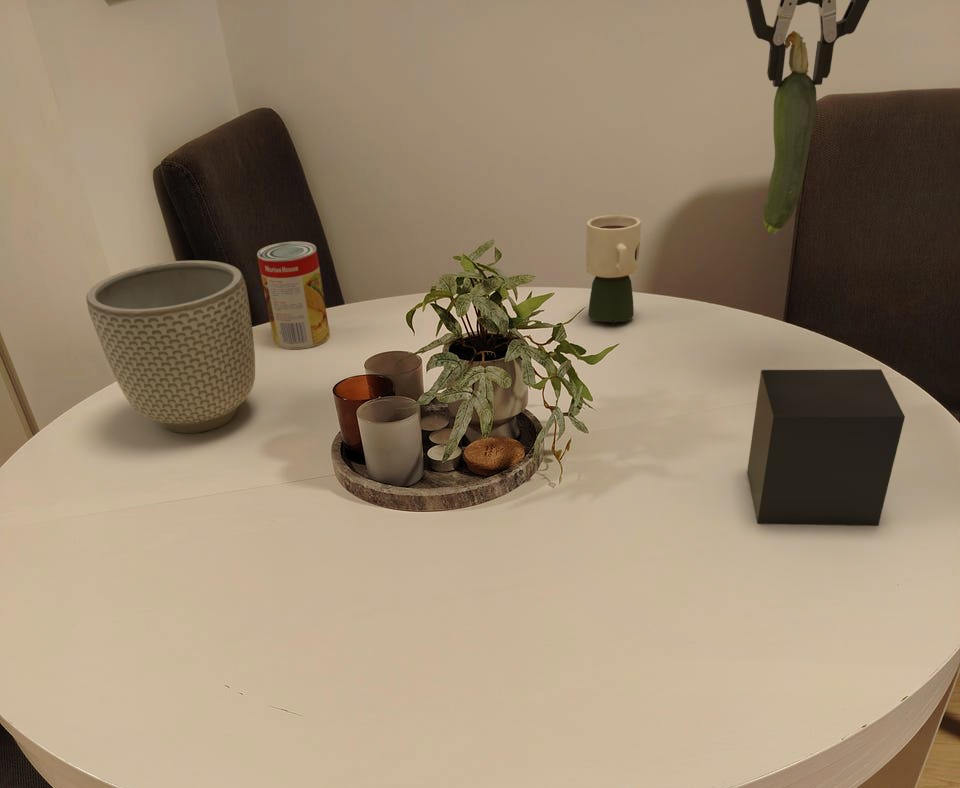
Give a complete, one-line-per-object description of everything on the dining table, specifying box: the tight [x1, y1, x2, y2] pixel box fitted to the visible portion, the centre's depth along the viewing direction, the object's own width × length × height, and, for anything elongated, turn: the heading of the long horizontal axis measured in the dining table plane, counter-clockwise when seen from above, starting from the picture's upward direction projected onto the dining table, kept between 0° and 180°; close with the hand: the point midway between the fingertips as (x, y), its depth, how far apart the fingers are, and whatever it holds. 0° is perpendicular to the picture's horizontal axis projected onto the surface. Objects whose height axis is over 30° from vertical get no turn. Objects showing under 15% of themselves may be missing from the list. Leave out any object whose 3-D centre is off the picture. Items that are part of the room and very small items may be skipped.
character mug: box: [585, 214, 642, 324], centre depth 128 cm, size 11×7×13 cm, turn 9°
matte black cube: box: [746, 368, 906, 526], centre depth 90 cm, size 11×12×11 cm
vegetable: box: [762, 30, 817, 236], centre depth 103 cm, size 4×4×20 cm
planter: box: [85, 259, 256, 434], centre depth 110 cm, size 17×17×16 cm
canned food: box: [256, 240, 331, 350], centre depth 129 cm, size 8×8×12 cm
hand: (797, 83), depth 99 cm, fingers closed on vegetable, 3 cm apart
